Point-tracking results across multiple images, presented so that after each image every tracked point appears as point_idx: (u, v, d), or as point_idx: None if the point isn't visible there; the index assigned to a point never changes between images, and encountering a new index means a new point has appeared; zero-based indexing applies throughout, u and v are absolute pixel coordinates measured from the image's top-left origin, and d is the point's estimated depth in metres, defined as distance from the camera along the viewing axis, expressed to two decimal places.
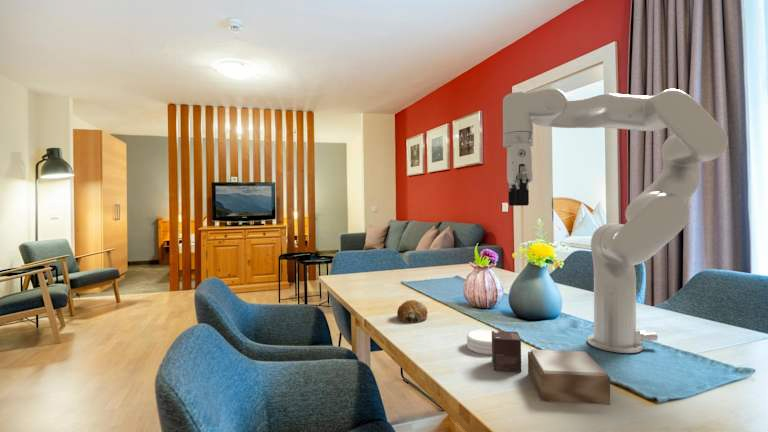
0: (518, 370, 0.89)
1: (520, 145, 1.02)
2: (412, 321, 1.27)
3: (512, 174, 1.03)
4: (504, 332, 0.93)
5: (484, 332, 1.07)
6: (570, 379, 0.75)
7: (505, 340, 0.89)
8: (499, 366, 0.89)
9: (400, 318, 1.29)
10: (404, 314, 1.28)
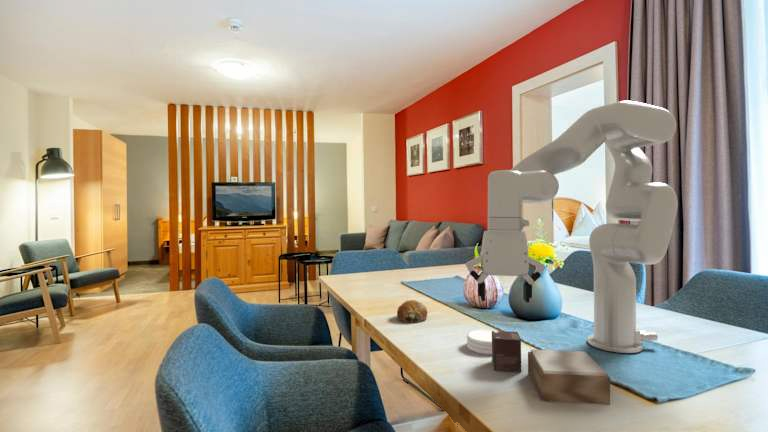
0: (518, 370, 0.89)
1: None
2: (412, 321, 1.27)
3: (523, 267, 0.89)
4: (504, 332, 0.93)
5: (484, 332, 1.07)
6: (570, 379, 0.75)
7: (505, 340, 0.89)
8: (499, 366, 0.89)
9: (400, 318, 1.29)
10: (404, 314, 1.28)
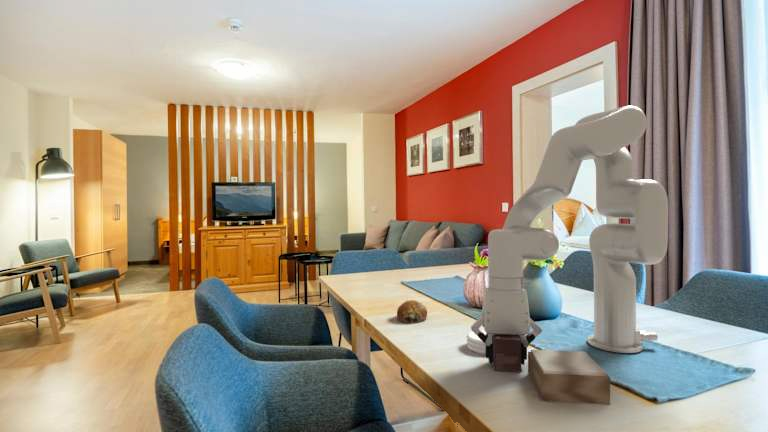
0: (518, 370, 0.89)
1: None
2: (412, 321, 1.27)
3: (525, 326, 0.89)
4: None
5: (484, 332, 1.07)
6: (570, 379, 0.75)
7: (505, 340, 0.89)
8: (499, 365, 0.89)
9: (400, 318, 1.29)
10: (404, 314, 1.27)
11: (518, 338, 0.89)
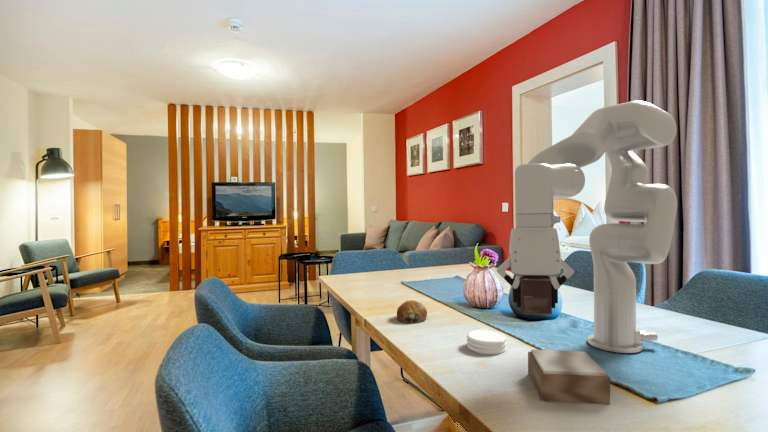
0: (548, 313, 0.82)
1: None
2: (412, 321, 1.27)
3: (555, 266, 0.83)
4: None
5: (484, 332, 1.07)
6: (570, 379, 0.75)
7: (534, 281, 0.83)
8: (528, 308, 0.83)
9: (400, 318, 1.28)
10: (404, 314, 1.27)
11: (548, 279, 0.83)
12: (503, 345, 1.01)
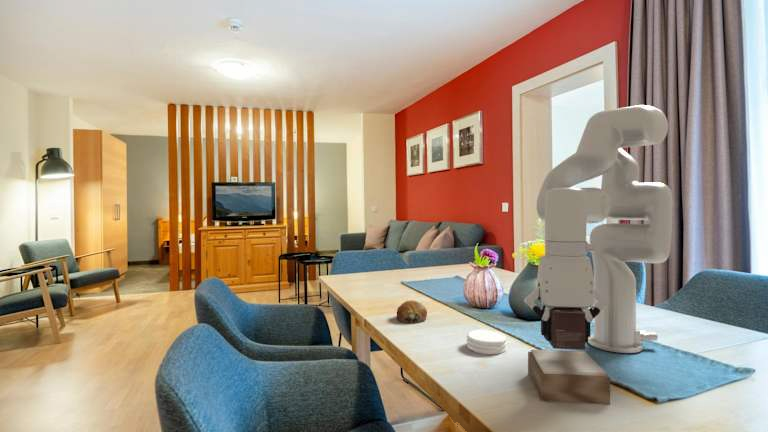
0: (582, 348, 0.77)
1: None
2: (411, 321, 1.27)
3: (589, 298, 0.78)
4: None
5: (484, 332, 1.07)
6: (570, 379, 0.75)
7: (567, 313, 0.77)
8: (560, 343, 0.78)
9: (399, 318, 1.28)
10: (403, 314, 1.27)
11: (581, 311, 0.78)
12: (503, 345, 1.01)
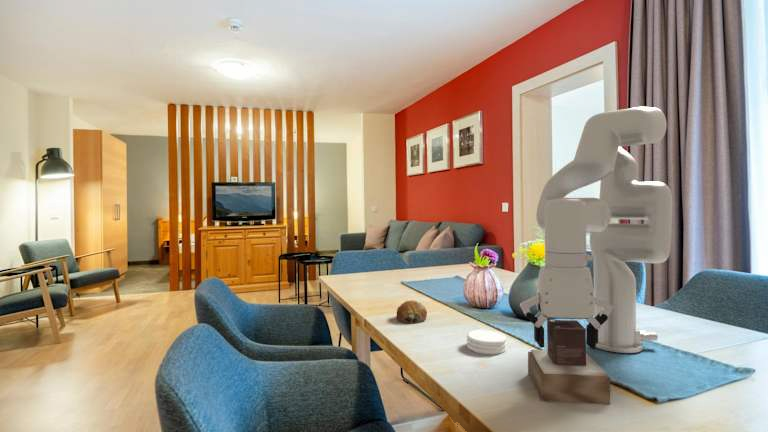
0: (582, 364, 0.77)
1: None
2: (411, 322, 1.27)
3: (589, 309, 0.78)
4: (562, 321, 0.82)
5: (484, 332, 1.07)
6: (570, 379, 0.75)
7: (567, 329, 0.78)
8: (561, 359, 0.78)
9: (399, 319, 1.28)
10: (403, 314, 1.27)
11: (582, 327, 0.78)
12: (503, 345, 1.01)
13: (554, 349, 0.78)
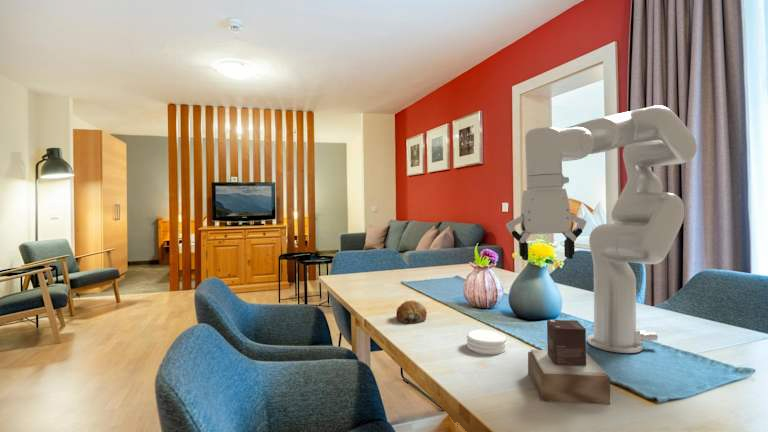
0: (582, 364, 0.77)
1: None
2: (411, 322, 1.27)
3: (566, 223, 0.89)
4: (562, 321, 0.82)
5: (484, 332, 1.07)
6: (570, 379, 0.75)
7: (567, 329, 0.78)
8: (561, 359, 0.78)
9: (399, 319, 1.28)
10: (403, 315, 1.27)
11: (582, 327, 0.78)
12: (503, 345, 1.01)
13: (554, 349, 0.78)
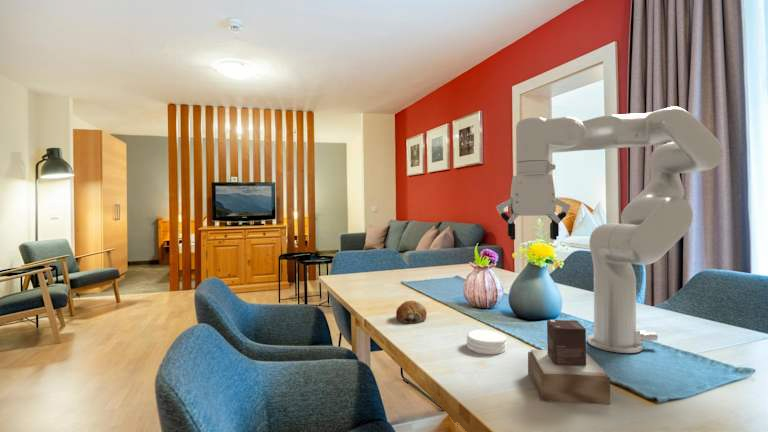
0: (582, 364, 0.77)
1: None
2: (411, 322, 1.27)
3: (551, 206, 0.96)
4: (562, 321, 0.82)
5: (484, 332, 1.07)
6: (570, 379, 0.75)
7: (567, 329, 0.78)
8: (561, 359, 0.78)
9: (399, 319, 1.28)
10: (403, 315, 1.27)
11: (582, 327, 0.78)
12: (503, 345, 1.01)
13: (554, 349, 0.78)
